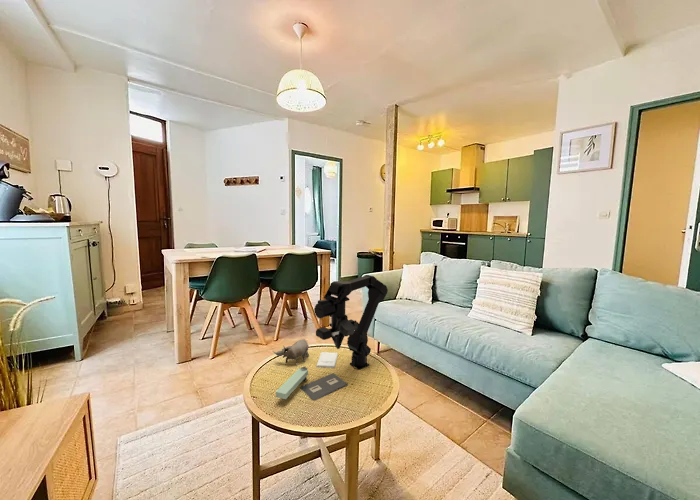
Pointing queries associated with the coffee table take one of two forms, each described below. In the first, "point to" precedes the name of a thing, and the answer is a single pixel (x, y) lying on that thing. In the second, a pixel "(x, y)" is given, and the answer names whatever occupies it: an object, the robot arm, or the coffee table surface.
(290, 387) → the swing arm
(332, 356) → the external hard drive
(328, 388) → the label panel
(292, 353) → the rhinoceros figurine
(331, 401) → the coffee table surface
